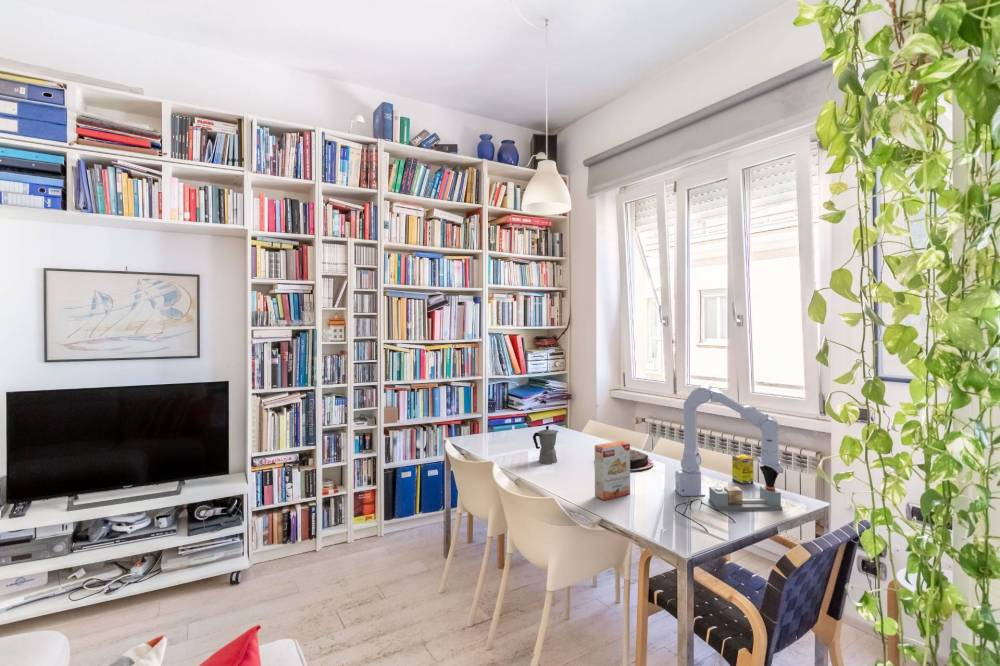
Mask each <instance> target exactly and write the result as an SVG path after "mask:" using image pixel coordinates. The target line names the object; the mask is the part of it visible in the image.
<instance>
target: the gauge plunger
mask: <svg viewBox="0 0 1000 666" xmlns="http://www.w3.org/2000/svg"><path fill="white" fill-rule="evenodd" d="M764 486H765V489H767V490H768V491H773V490H775V489H776V486H775V485H774V487H768V486H766V484H765V485H764Z"/></svg>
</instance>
